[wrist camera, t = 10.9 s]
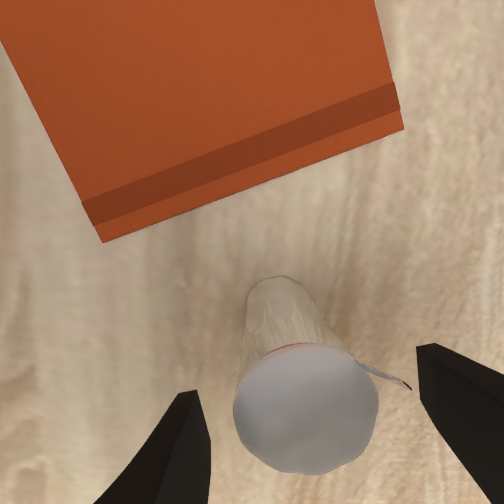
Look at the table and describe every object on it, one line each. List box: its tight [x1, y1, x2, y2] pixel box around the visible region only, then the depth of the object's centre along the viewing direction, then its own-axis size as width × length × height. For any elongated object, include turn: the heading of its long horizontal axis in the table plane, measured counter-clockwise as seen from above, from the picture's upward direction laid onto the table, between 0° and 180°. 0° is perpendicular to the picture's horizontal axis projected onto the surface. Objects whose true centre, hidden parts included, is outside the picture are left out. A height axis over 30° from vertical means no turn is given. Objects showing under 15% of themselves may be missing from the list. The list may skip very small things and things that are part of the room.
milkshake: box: [233, 276, 412, 475], centre depth 15 cm, size 4×5×10 cm
